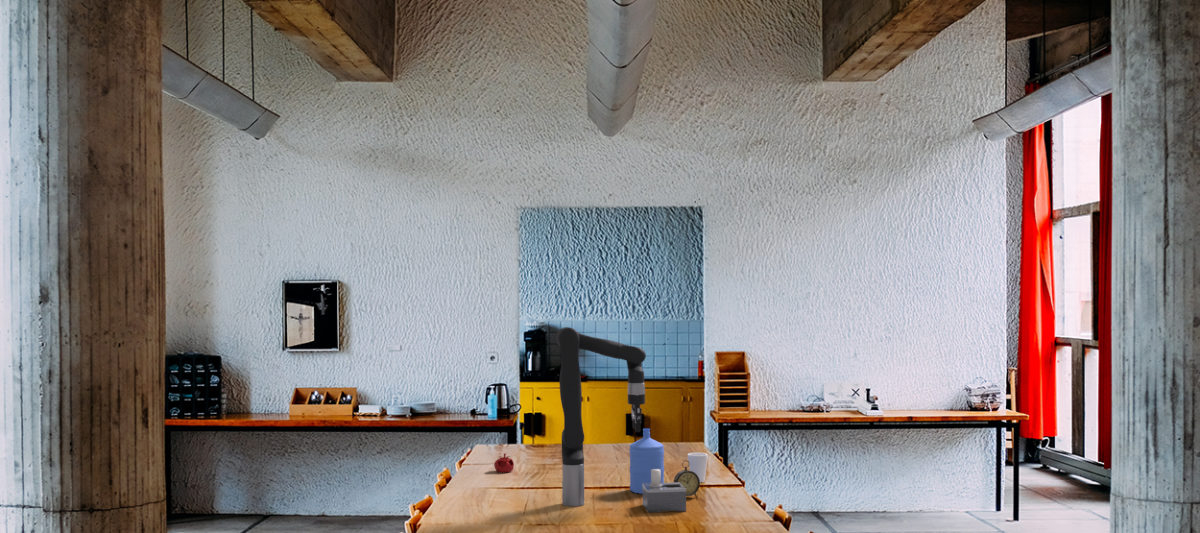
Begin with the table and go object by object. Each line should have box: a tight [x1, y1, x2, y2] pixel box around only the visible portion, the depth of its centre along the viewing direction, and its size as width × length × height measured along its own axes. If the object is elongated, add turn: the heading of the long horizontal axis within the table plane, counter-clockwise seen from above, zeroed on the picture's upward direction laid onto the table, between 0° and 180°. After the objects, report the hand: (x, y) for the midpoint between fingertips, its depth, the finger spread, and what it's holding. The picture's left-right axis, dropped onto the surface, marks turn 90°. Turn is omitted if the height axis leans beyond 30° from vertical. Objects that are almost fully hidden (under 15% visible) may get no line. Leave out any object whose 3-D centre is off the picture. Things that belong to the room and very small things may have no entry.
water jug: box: [629, 428, 665, 495], centre depth 411 cm, size 16×16×28 cm
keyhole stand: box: [642, 481, 687, 513], centre depth 377 cm, size 16×14×9 cm
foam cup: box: [687, 452, 709, 483], centre depth 430 cm, size 10×9×13 cm
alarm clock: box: [673, 459, 701, 498], centre depth 396 cm, size 11×5×16 cm, turn 105°
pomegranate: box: [493, 452, 515, 473], centre depth 460 cm, size 10×10×9 cm
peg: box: [650, 469, 662, 488], centre depth 377 cm, size 5×5×10 cm
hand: (636, 430), depth 393 cm, fingers open, 8 cm apart
